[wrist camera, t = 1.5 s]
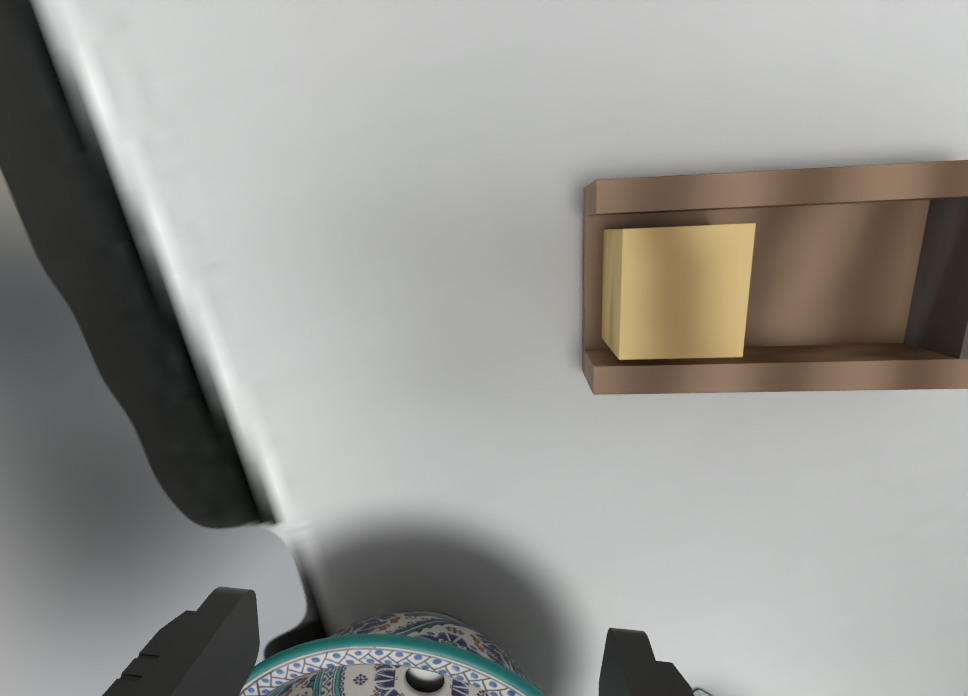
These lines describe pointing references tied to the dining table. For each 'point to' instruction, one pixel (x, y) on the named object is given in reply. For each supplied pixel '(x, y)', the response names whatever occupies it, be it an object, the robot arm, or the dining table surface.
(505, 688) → the bowl
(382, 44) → the dining table surface
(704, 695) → the skincare box
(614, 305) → the block
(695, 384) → the chute
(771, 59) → the dining table surface
